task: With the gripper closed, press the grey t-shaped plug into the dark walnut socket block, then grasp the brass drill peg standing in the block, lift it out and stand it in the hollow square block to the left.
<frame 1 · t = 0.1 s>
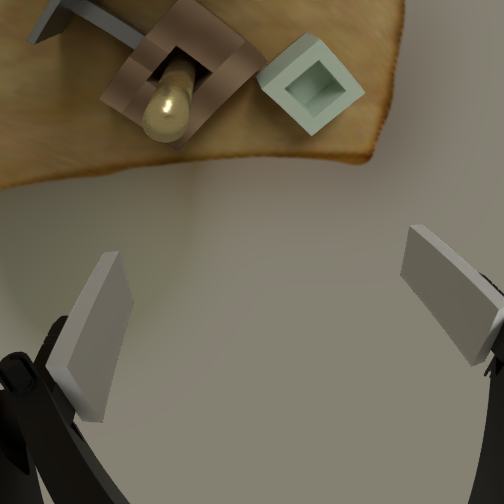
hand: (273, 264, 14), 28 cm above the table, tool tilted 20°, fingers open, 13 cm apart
hollow square block: (303, 76, 33), on the table
socket block: (182, 67, 31), on the table
drill peg: (175, 87, 25), in the socket block
grey t-shaped plug: (100, 23, 22), point 4 cm above the table, slide at 0.0 cm
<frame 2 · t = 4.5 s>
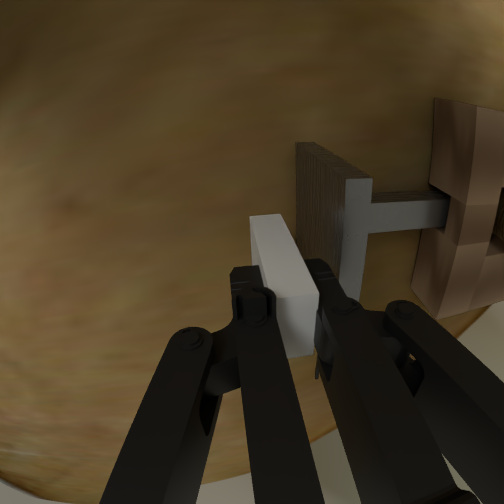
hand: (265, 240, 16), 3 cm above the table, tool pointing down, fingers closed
socket block: (479, 199, 20), on the table
grey t-shaped plug: (406, 230, 16), point 4 cm above the table, slide at 0.8 cm, touching gripper
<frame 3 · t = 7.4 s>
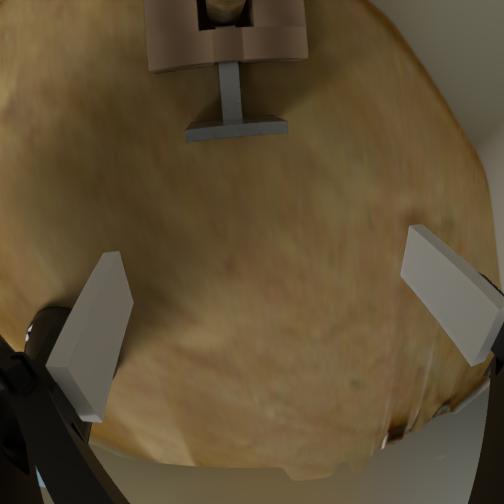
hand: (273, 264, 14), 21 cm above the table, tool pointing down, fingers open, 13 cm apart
socket block: (223, 14, 25), on the table
grey t-shaped plug: (230, 75, 25), point 4 cm above the table, slide at 3.4 cm
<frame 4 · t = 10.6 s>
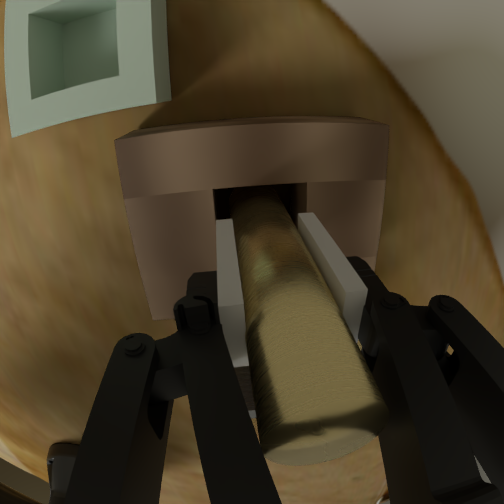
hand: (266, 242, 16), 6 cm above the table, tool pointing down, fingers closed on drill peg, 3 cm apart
hollow square block: (103, 50, 15), on the table
socket block: (253, 203, 21), on the table
drill peg: (274, 267, 14), in the socket block, touching gripper
grey t-shaped plug: (265, 326, 21), point 4 cm above the table, slide at 3.4 cm
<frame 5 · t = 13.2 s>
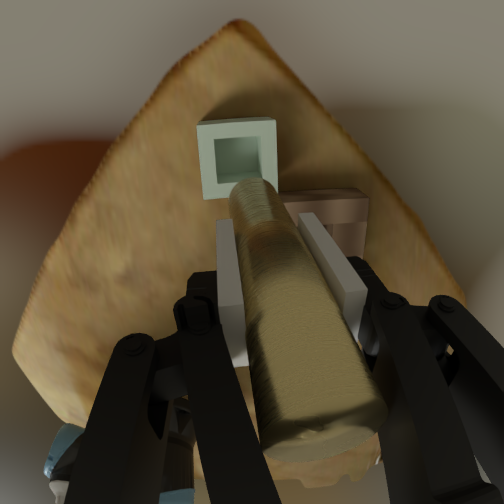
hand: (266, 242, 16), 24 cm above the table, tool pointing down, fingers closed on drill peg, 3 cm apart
hollow square block: (235, 151, 37), on the table
socket block: (305, 229, 43), on the table
drill peg: (274, 265, 14), point 26 cm above the table, touching gripper
when the fingers open (8 cm above the table, at t = 16.2 s): drill peg drops 1 cm, resting on hollow square block.
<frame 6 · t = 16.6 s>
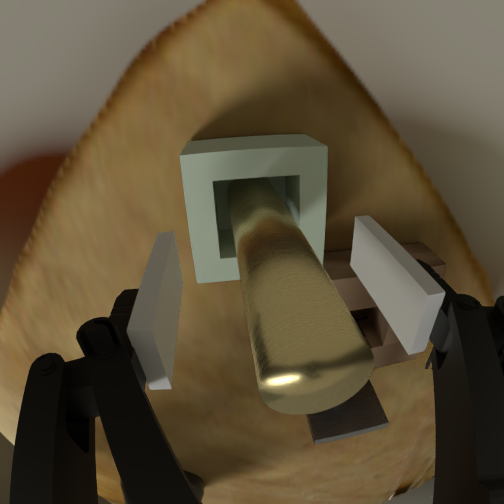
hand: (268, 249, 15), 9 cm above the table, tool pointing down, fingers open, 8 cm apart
hollow square block: (249, 191, 23), on the table
socket block: (348, 302, 29), on the table
drill peg: (270, 246, 15), in the hollow square block, point 9 cm above the table
grey t-shaped plug: (350, 381, 29), point 4 cm above the table, slide at 3.4 cm
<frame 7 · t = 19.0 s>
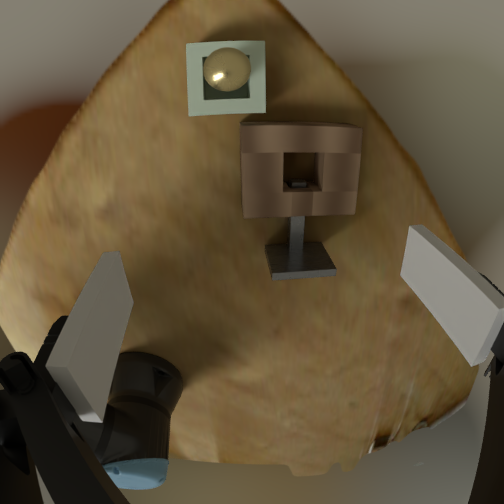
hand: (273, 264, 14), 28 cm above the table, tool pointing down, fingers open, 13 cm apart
hollow square block: (225, 78, 34), on the table
socket block: (296, 164, 40), on the table
drill peg: (226, 74, 26), in the hollow square block, point 9 cm above the table
grey t-shaped plug: (300, 227, 40), point 4 cm above the table, slide at 3.4 cm
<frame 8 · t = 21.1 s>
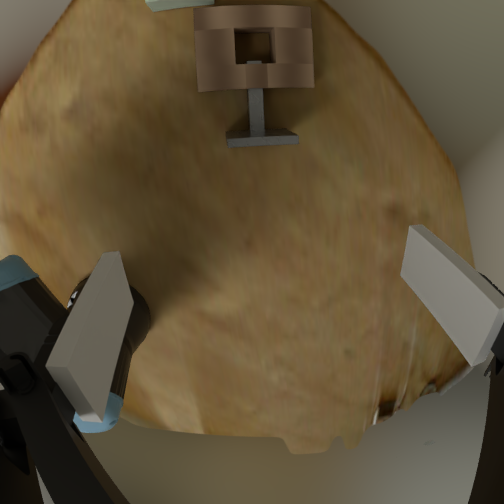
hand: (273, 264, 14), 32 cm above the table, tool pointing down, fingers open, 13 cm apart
socket block: (251, 49, 36), on the table
grey t-shaped plug: (257, 99, 36), point 4 cm above the table, slide at 3.4 cm
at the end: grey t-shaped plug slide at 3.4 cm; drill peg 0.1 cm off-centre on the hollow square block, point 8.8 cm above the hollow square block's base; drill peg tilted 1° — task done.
